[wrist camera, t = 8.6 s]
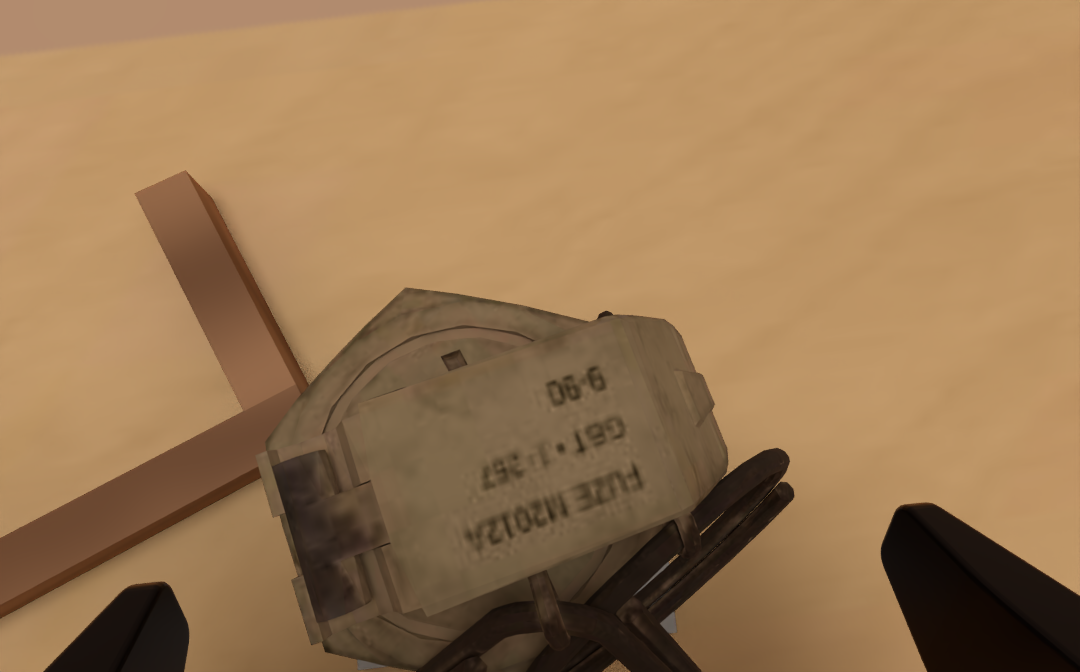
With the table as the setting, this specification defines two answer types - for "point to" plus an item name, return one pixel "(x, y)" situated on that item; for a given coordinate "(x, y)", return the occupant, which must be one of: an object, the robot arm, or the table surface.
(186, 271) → the brown flat open frame
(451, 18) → the table surface
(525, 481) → the grenade model
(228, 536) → the table surface
